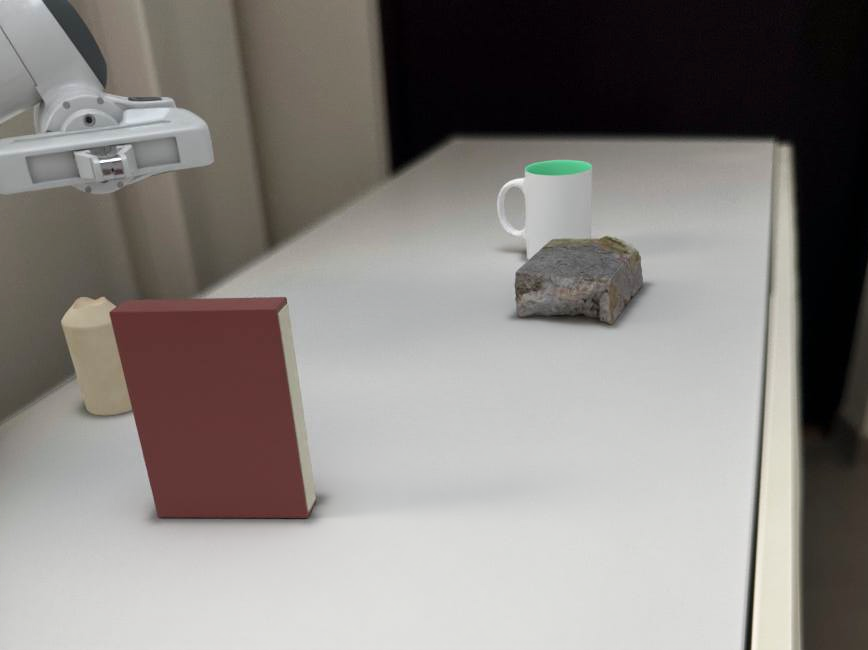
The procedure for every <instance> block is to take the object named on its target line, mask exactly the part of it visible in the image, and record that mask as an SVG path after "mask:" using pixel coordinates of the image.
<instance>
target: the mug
mask: <svg viewBox="0 0 868 650" xmlns="http://www.w3.org/2000/svg"><path fill="white" fill-rule="evenodd" d="M512 188H519V189H520V190H521V191H522V193H523V196H524V205H525V223H524V226H523V228H522V229H517V228H515V227H513V226H512V225H511V223H510V222H509V220H508V218H507V215H506V210H505V200H506V195H507V193H508V191H509V190H510V189H512ZM592 197H593V165H592V164H591V163H589V162H587V161H582V160H575V159H552V160H544V161H538V162H534V163H531V164H529V165H527V166H525V167H524V177H520V178H515V179H511V180H509V181H507V182H506V183H505V184H503V186H502V187H501V189H500V191H499V193H498V196H497V202H496V211H497V217H498V220H499V224H500V225H501V227H502V228H503V230H504V231H505V232H506V233H508V234H509V235H510V236H511V237H515V238H518V239H523V240H524V241H525V244H526V259H527V261H528V260H529V259H530V258H532V257H533V256H534V255H535V254H536V253H537V252H539V250H540V249H541V248H542V247H544V246H545V245H546V244H547V243H548V242H549V241H550V240H552V239H562V238H573V239H587V238H592V217H593V216H592V214H593V213H592V208H593V204H592V203H593V198H592Z"/></svg>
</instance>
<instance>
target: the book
mask: <svg viewBox="0 0 868 650" xmlns="http://www.w3.org/2000/svg"><path fill="white" fill-rule="evenodd" d="M109 314H110V318H111V322H112V327H113V331H114V335H115V339H116V343H117V348H118V352H119V356H120V360H121V364H122V369H123V373H124V377H125V381H126V385H127V389H128V394H129V398H130V402H131V406H132V410H131V411H132V414H133V418H134V423H135V427H136V430H137V435H138V440H139V443H140V448H141V452H142V456H143V461H144V465H145V469H146V473H147V477H148V482H149V485H150V489H151V494H152V498H153V502H154V507H155V511H156V515H157V517H158V518H206V519H207V518H211V519H212V518H215V519H217V518H218V519H219V518H220V519H221V518H223V519H225V518H228V519H229V518H231V519H232V518H233V519H234V518H235V519H236V518H237V519H242V518H243V519H246V518H247V519H253V518H254V519H259V518H260V519H308V518H309V515H310V514H311V511H313V510H312V509H313V508H314V506H315V504H316V502H317V496H316V488H315V482H314V474H313V469H312V467H313V466H312V461H311V454H310V447H309V440H308V432H307V426H306V419H305V412H304V406H303V399H302V390H301V383H300V378H299V372H298V364H297V357H296V351H295V342H294V336H293V330H292V324H291V317H290V316H291V315H290V309H289V304H288V298H287V297H286V296H270V297H269V296H267V297H265V296H264V297H218V298H217V297H214V298H210V297H209V298H162V299H161V298H160V299H156V298H155V299H124V300H123V301H122V302H121V303H119V304H118V305H116V307H115V308H114V309H113V310H111V311H110V312H109Z"/></svg>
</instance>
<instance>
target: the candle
mask: <svg viewBox="0 0 868 650" xmlns="http://www.w3.org/2000/svg"><path fill="white" fill-rule="evenodd" d="M115 307H117V305H115V304H114V303H112V302H111V301H110V300H108V299H107V298H106V297H105V296H100V297H98V298H96V299H93V298H90V297H87V296H81V297H79V298H76V300H75V301H74V302H73V304H72V305H71V306H70V307H69V309H67V311H66V312H65V314H64V315H63V317H62V318H61V320H60V324H61V327H62V330H63V334H64V337H65V341H66V344H67V348H68V352H69V354H70V357H71V361H72V365H73V367H74V368H73V369H74V372H75V375H76V378H77V382H78V385H79V388H80V392H81V395H82V400H83V402H84V405H85V408H86V410H87V412H88V413H90V414H92V415H96V416H115V415H121V414H125V413H128V412H129V413H130V412H131V411H133V410H132V406H131V402H130V398H129V394H128V389H127V385H126V381H125V377H124V373H123V369H122V364H121V360H120V356H119V352H118V348H117V343H116V339H115V335H114V331H113V327H112V322H111V318H110V314H109V312H110V311H111V310H113V309H114V308H115Z"/></svg>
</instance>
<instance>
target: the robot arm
mask: <svg viewBox="0 0 868 650" xmlns="http://www.w3.org/2000/svg"><path fill="white" fill-rule="evenodd" d="M107 83H108V64H107V62H106V60H105V57H104V54H103V52H102V50H101V48H100V47H99V45H98V42H97V41H96V39H95V37H94V36H93V33H92V32H91V30H90V29H89V27H88V26H87V24H86V23H85V21H84V19H83V18H82V16H81V15H80V14H79V12H78V11H77V10H76V8H75V7H74V6H73V4H72V3H71V2H70V1H69V0H0V127H1V125H2V124H3V123H6V122H7V121H9V120H11V119H13V118H15V117H16V116H18V115H20V114H21V113H24V112H25V111H27V110H29V109H31V108H32V107H33V124H34V130H35V133H34V134H33V133H32V134H26V135H19V136H12V137H4V138H0V195H14V194H21V193H27V192H35V191H41V190H42V191H43V190H48V189H55V188H63V187H70V186H71V187H73V188H74V189H76V190H78V191H81V192H83V193H86V194H90V195H106V194H107V195H108V194H112V193H114V192H117V191H119V190H121V189H122V188H124V187H125V186H129V185H133V184H135V183H137V182H139V181H142V180H144V179H146V178H149V177H154V176H159V175H162V174H167V173H171V172H175V171H180V170H185V169H186V170H187V169H193V168H201V167H209V166H211V165H213V163H214V162H215V154H214V147H213V141H212V137H211V132H210V128H209V125H208V123H207V122H206V121H205V120H204V119H203V118H202V117H200V115H197V114H196V113H194V112H192V111H191V110H188V109H186V108H182V107H177V105H176V101H175V99H173V98H172V97H168V96H144V97H143V96H121V95H117V94H113V93H108V92H106V91H105V90H106V89H107Z"/></svg>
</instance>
